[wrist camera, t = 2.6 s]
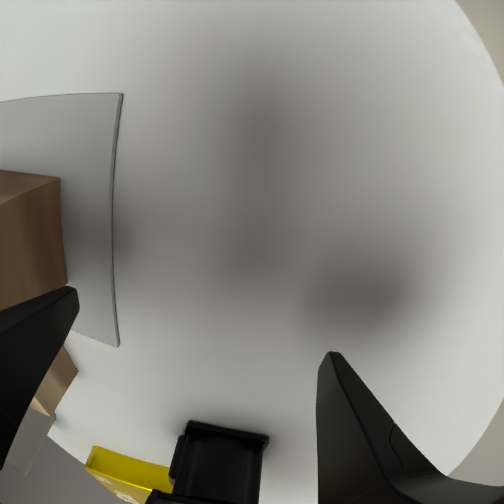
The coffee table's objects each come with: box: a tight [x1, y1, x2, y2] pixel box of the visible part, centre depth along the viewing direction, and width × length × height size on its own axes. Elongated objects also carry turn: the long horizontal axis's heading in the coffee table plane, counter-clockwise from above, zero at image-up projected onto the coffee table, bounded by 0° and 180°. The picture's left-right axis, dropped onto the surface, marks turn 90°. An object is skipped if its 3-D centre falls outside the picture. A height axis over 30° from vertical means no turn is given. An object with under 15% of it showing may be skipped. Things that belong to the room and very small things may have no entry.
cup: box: [5, 407, 56, 476], centre depth 19 cm, size 8×8×10 cm
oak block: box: [29, 345, 78, 417], centre depth 15 cm, size 4×4×5 cm
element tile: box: [85, 446, 173, 504], centre depth 27 cm, size 15×15×5 cm
